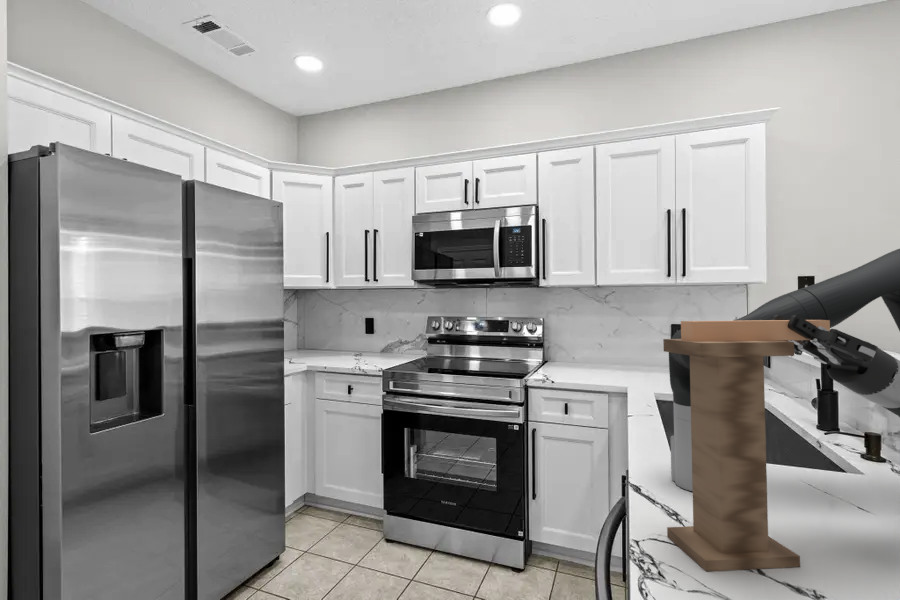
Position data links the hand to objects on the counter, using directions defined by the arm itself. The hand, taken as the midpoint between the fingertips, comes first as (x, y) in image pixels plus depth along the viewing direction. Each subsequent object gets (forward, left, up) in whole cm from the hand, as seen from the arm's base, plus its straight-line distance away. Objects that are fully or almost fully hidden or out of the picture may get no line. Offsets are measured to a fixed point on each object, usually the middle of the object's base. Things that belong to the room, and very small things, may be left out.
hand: (782, 320), depth 71 cm
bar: (-1, -4, -3) cm, 5 cm away
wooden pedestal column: (-2, -9, -35) cm, 36 cm away
